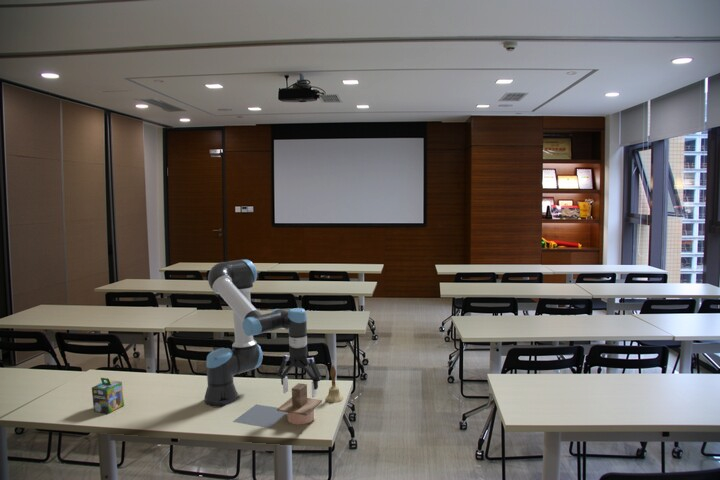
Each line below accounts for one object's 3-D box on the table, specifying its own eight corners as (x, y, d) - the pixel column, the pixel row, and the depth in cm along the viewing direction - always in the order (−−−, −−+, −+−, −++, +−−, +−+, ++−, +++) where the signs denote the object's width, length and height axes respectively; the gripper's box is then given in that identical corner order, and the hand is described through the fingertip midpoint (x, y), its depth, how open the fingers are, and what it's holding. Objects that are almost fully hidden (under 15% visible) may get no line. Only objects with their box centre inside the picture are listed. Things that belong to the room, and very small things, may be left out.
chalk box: (124, 405, 229) (122, 374, 228) (108, 414, 221) (106, 382, 219) (109, 403, 232) (106, 372, 231) (92, 411, 224) (90, 379, 222)
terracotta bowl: (283, 423, 208) (282, 410, 207) (294, 412, 218) (294, 399, 218) (307, 427, 204) (306, 413, 204) (317, 415, 215) (317, 402, 214)
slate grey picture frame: (232, 422, 210) (232, 421, 209) (256, 405, 226) (256, 404, 226) (269, 429, 203) (269, 428, 203) (290, 411, 220) (290, 409, 220)
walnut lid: (277, 410, 207) (276, 390, 206) (293, 397, 220) (292, 378, 219) (307, 415, 202) (306, 394, 201) (321, 401, 215) (321, 382, 214)
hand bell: (329, 404, 226) (328, 370, 225) (322, 397, 234) (321, 364, 232) (345, 400, 230) (345, 367, 228) (339, 394, 237) (338, 361, 236)
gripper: (267, 345, 209) (269, 393, 211) (321, 351, 200) (322, 401, 202) (276, 340, 216) (278, 387, 218) (328, 345, 207) (330, 394, 209)
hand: (299, 394), depth 210 cm, fingers open, 13 cm apart
